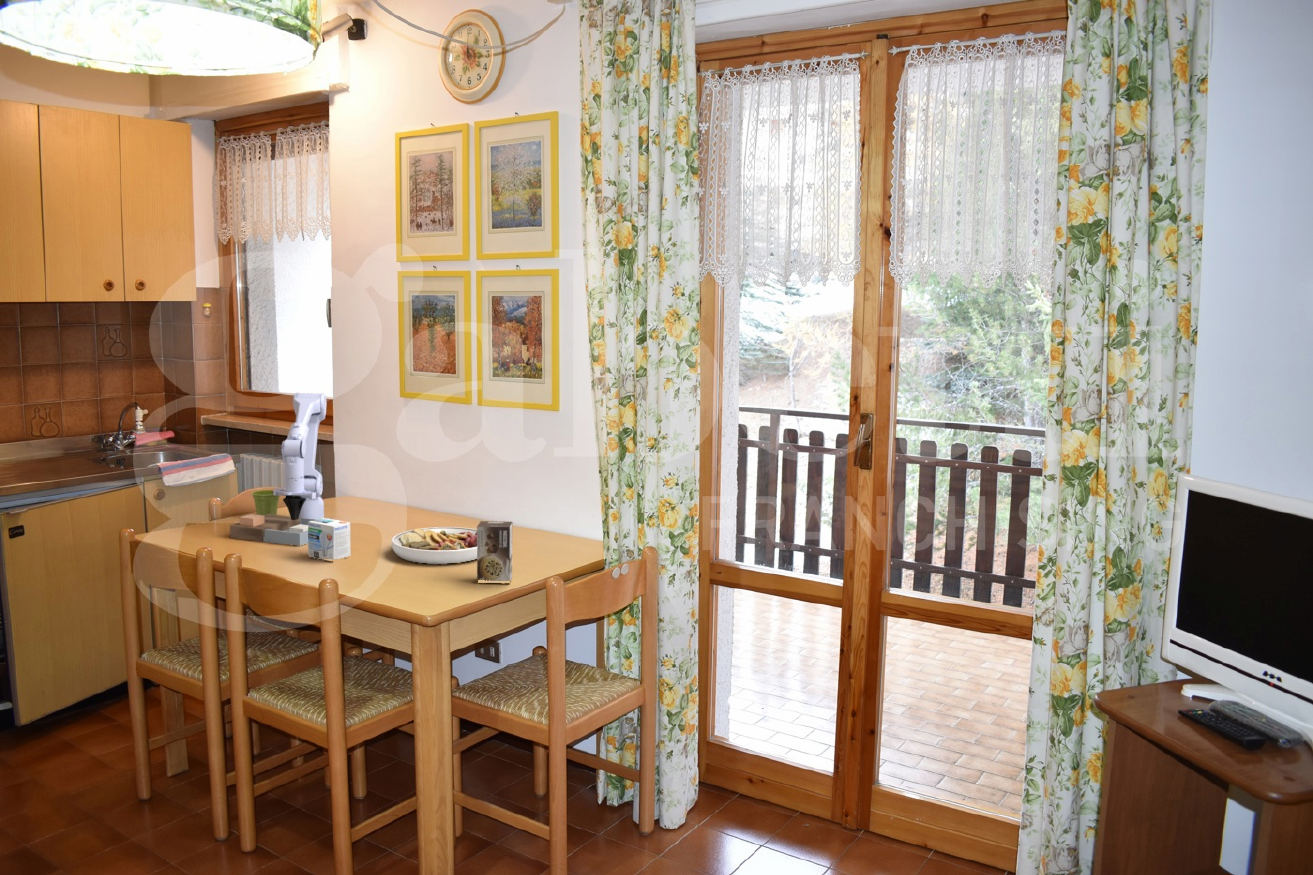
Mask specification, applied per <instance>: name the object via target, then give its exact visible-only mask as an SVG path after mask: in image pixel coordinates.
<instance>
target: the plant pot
mask: <svg viewBox="0 0 1313 875" xmlns="http://www.w3.org/2000/svg"><path fill="white" fill-rule="evenodd" d="M251 495H252V499H253V500H254V505H255V510H256V515H267V514H274V515H278V507H279V501H280V497H281V495H273V489H262V490H261V489H260V490H256V491H252V492H251Z"/></svg>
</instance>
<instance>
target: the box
mask: <svg viewBox="0 0 1313 875" xmlns="http://www.w3.org/2000/svg"><path fill="white" fill-rule="evenodd" d="M314 520H318V519H309V518H301V524H302V525H308V522H309V521H314ZM268 542H270V544H276V543H277V544H278V545H284V544H292V545H298V546H297V547H302V546H301V545H303V546H305V545H304V544H306V545H308V530H307V531H304V532H301V533H295V532H290V529H287V530H284V531H279V530H270V529H265V537H263V543H268ZM292 545H291V546H292Z"/></svg>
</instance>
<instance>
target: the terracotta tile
mask: <svg viewBox="0 0 1313 875" xmlns="http://www.w3.org/2000/svg"><path fill="white" fill-rule="evenodd" d="M239 522H240V525H244V526H252V527H254V526H257V525H261V524H264V515H257V514H253V513H250V514H246V515H242V516H239Z"/></svg>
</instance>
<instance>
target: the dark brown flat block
mask: <svg viewBox="0 0 1313 875" xmlns="http://www.w3.org/2000/svg"><path fill="white" fill-rule="evenodd" d="M299 524H300V517H299V519H297V520H291V517H290V515H284V514H283V515H280V514H277V515H274V514H267V515H264V524H261V525H257V526H254V527H252V526H244V525H240V521H239V522H236V523H232V524H230V525H229V538H230V539H237V540H238V539H239V540H245V541H255V542H261V543H262V542H263V537H265V529H270V530H279V531H284V530H287V529H290V527H293V526H296V525H299ZM263 543H264V542H263Z"/></svg>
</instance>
